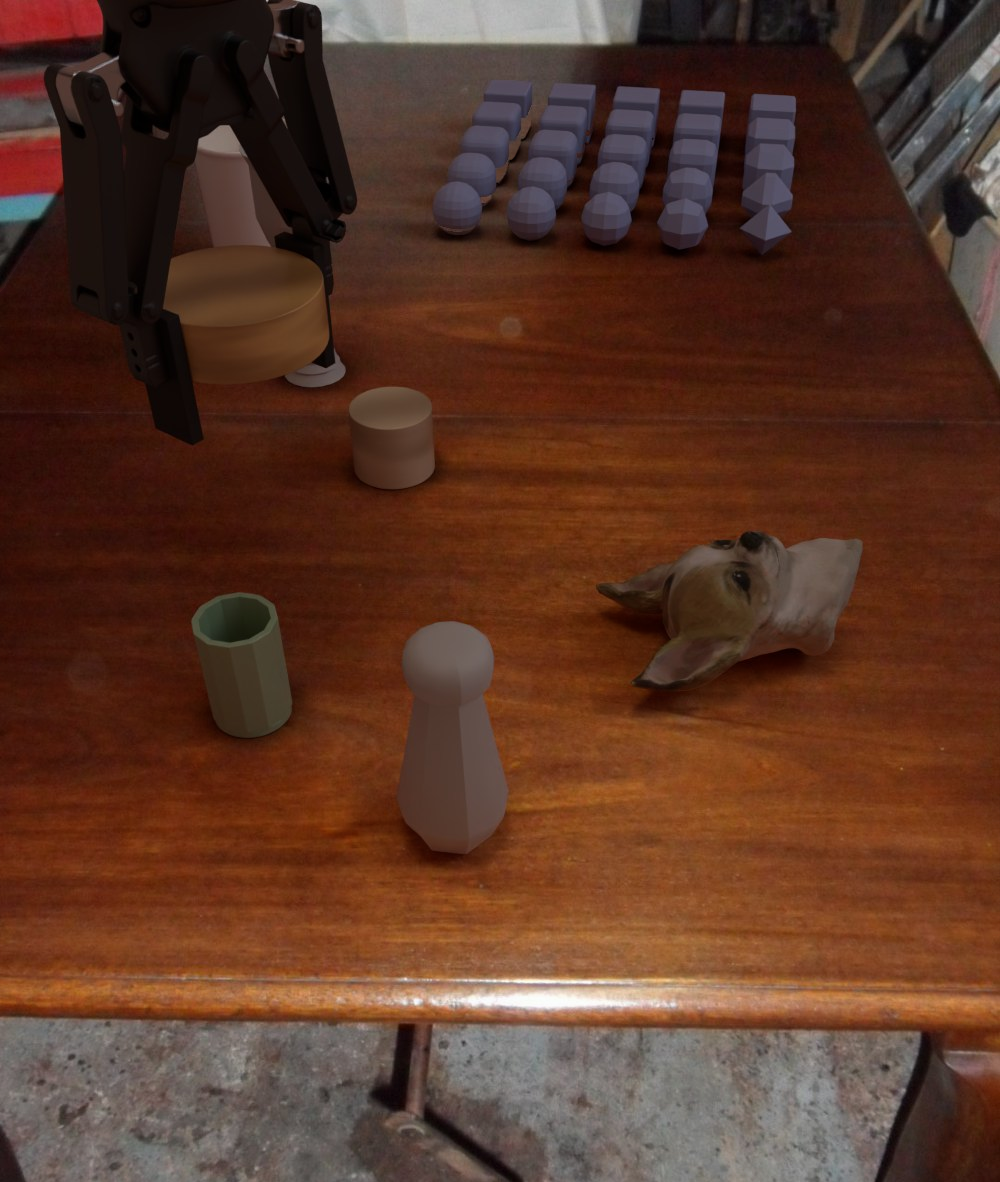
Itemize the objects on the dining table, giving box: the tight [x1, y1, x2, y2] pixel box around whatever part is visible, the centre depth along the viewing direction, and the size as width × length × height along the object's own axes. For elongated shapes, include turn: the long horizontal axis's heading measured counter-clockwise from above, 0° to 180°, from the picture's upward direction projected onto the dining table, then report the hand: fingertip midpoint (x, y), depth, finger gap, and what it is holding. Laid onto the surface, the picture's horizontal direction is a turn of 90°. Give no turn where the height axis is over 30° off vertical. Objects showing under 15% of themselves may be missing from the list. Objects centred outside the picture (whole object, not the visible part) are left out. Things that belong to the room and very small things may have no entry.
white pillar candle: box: [348, 386, 436, 490], centre depth 87 cm, size 6×6×5 cm
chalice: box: [239, 145, 347, 388], centre depth 93 cm, size 7×7×18 cm
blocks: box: [432, 78, 797, 256], centre depth 126 cm, size 35×34×5 cm
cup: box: [190, 591, 293, 739], centre depth 67 cm, size 5×5×7 cm
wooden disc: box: [163, 245, 329, 386], centre depth 59 cm, size 9×9×3 cm
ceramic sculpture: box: [595, 530, 864, 692], centre depth 71 cm, size 11×9×15 cm
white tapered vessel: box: [193, 117, 287, 247], centre depth 109 cm, size 10×10×12 cm
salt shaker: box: [395, 620, 510, 855], centre depth 59 cm, size 6×6×13 cm
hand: (248, 394), depth 62 cm, fingers closed on wooden disc, 9 cm apart
